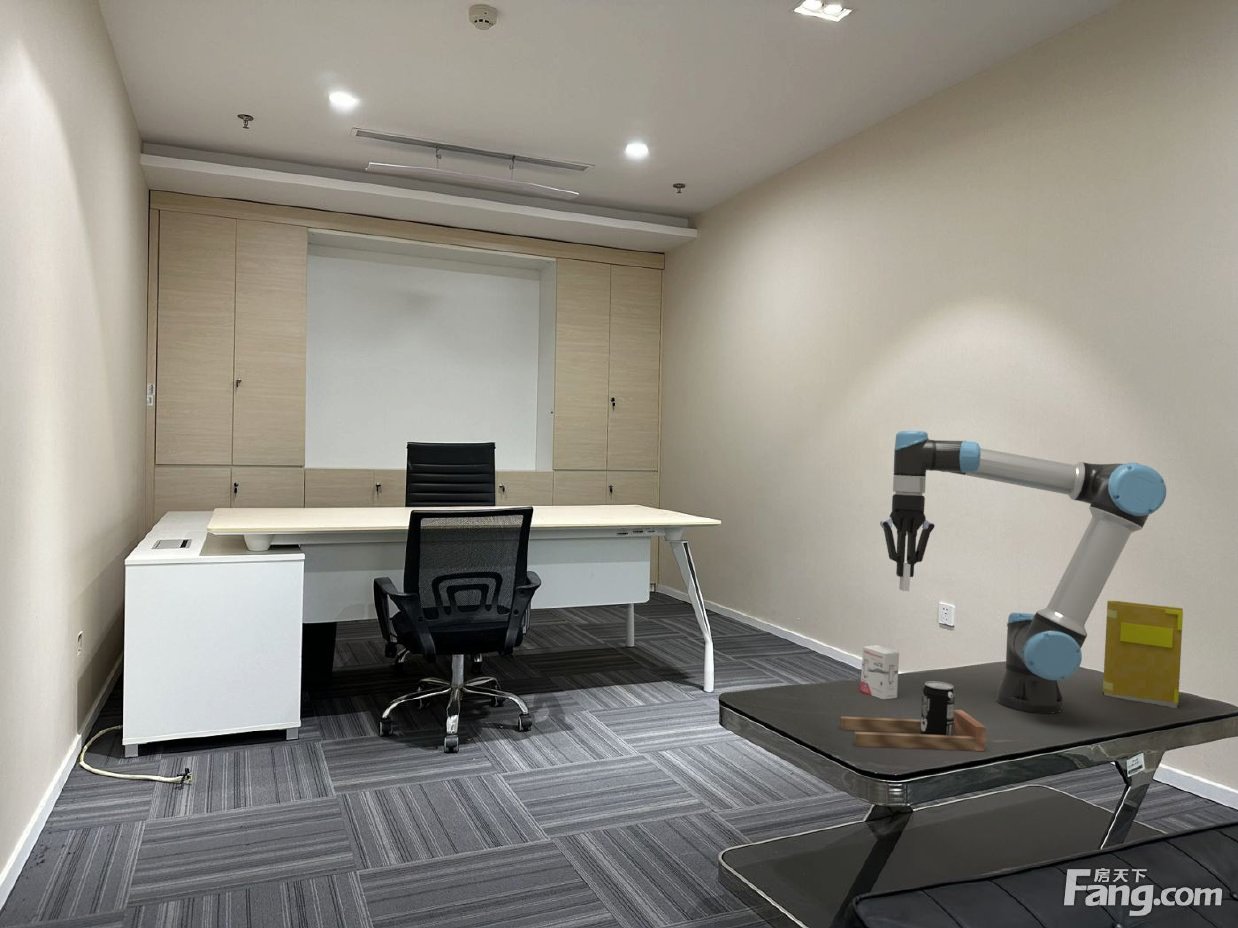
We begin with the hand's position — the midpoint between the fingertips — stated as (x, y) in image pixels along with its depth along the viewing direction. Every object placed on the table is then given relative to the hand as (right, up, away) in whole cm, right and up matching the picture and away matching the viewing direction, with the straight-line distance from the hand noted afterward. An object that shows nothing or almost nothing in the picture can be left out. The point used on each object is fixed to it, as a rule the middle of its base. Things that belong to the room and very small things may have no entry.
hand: (904, 590), depth 210 cm
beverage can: (-2, -29, -26) cm, 39 cm away
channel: (-7, -28, -26) cm, 39 cm away
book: (+68, -32, +16) cm, 76 cm away
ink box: (-3, -28, +9) cm, 30 cm away
